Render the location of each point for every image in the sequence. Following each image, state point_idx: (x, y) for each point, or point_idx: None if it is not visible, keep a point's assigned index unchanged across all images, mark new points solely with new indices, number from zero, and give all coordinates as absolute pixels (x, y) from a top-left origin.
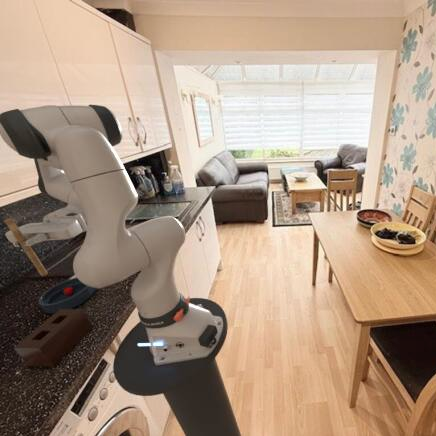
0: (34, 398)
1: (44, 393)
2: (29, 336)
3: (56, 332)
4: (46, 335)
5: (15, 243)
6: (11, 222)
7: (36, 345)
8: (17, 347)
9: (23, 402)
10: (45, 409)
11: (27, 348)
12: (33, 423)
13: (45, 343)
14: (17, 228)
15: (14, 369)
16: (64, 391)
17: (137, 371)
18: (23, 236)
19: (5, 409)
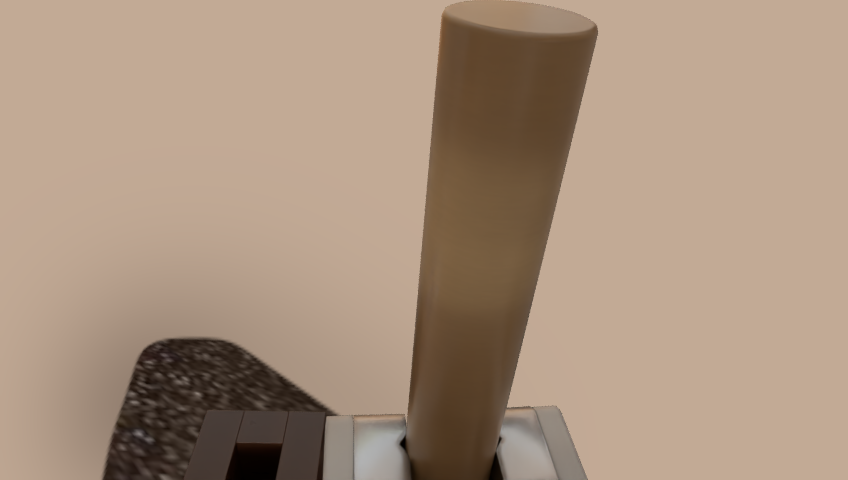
0: (214, 392)
1: (192, 403)
2: (306, 457)
3: (185, 477)
4: (225, 462)
5: (511, 410)
6: (441, 88)
7: (232, 420)
8: (308, 412)
9: (239, 384)
10: (158, 371)
11: (263, 412)
12: (168, 348)
13: (200, 430)
14: (423, 263)
15: None
16: (128, 408)
17: None
18: (420, 419)
19: (276, 371)
